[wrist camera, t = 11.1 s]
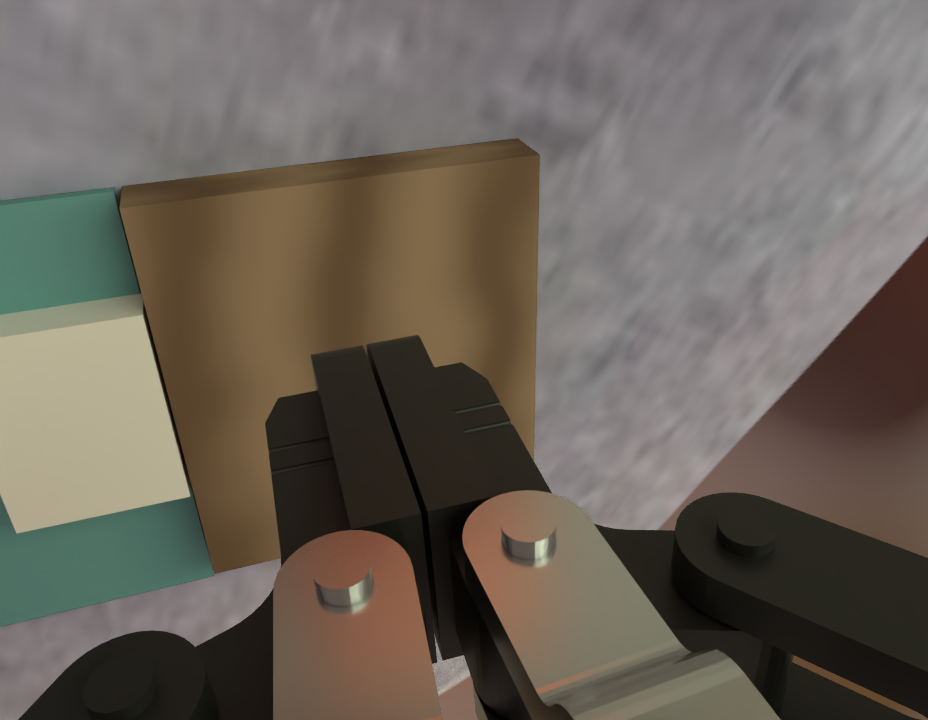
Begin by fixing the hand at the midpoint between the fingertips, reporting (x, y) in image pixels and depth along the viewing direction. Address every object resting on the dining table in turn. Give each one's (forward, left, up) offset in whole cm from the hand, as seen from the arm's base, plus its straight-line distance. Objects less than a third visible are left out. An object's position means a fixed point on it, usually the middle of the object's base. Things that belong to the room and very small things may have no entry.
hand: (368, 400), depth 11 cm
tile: (+9, +12, -22) cm, 27 cm away
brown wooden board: (-3, +13, -23) cm, 26 cm away
